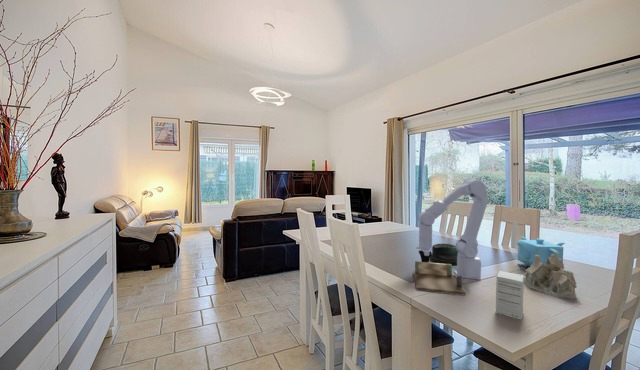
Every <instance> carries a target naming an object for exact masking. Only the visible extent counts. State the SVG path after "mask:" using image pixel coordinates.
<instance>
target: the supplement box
mask: <svg viewBox="0 0 640 370" xmlns="http://www.w3.org/2000/svg"><path fill="white" fill-rule="evenodd" d="M524 278H525V275H522V274H519V273H514V272H513V273H512V272H508V271H503V270H499V271H498V273H497V275H496V287H495V288H496V289H495V313H496V312H497V313H496V314H498V313H500V314H499V315H502V314H504V315H503V316H505V315H508V316H507V317H509V316H512V317H511V318H513V317H515V318H514V319H517V318H519V319H518V320H522V319H523V314H524V313H523V312H524V293H525V292H524V290H525V289H524V286H525V284H524Z"/></svg>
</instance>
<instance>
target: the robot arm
mask: <svg viewBox="0 0 640 370" xmlns="http://www.w3.org/2000/svg"><path fill="white" fill-rule="evenodd" d="M487 188H488V186H486V184H485V183H484V182H483V181H482V180H480V179H466V180H464V181H463V182H461V183H460V184H459V185H458V186H457V187H456V188H455V189H453V190H452V191H451V192H450V193H449V194H447V195H446V196H445V197H444V198H443V199H442V200H437V201H433V202H432V205H429V207H427V208H425V209H424V211H421V212H420V213H419V215H418V216H417V220H418V222H419V225H418V226H419V227H418V245H417V246H415V248H416V249H418V254H419V256H420V260H421V261H420V262H429V260H430V257H431V256H432V246H433V224H434V223H435V221H436V220H437V218H439V217H440V216H441V215H443V214H444V213H446V211H447V209H448V206H449V205H451V204H452V203H454V202H455V201H457V200H458V199H459V198H461V197H462V196H469V197H470V198H471V200H472V201H473V202H472V203H473V204H472V205H471V206H472V207H471V209H470V214H469V216H468V219H467V222H466V226H465V229H464V231H463V234H461V235H460V237H459V239H458V240H457V242H456V243H455V246H456V250H457V251H458V254H457V266H456V270H454V274H455V275H456V277H457V276H462V279H470V280H471V279H473V280H482V278H481V276H482V275H481V274H482V262H481V259H480V257H476V256H477V255H478V253H479V252H478V251H479V250H478V246H479V242H478V239H477V238H478V234H479V231H480V228H481V224H482V221H483V219H484V215H485V212H486V209H487V206H488V204H489V203H488V202H489V198H488V194H487Z"/></svg>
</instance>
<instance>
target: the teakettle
mask: <svg viewBox="0 0 640 370" xmlns="http://www.w3.org/2000/svg"><path fill="white" fill-rule="evenodd" d="M520 238H521V239H518V240H517V241H514V243H515V244H517V261H519V262H521V263H523V264H522V266H523V265H524V267H527V266H531V265H532V264H533V263H534V259H535V255H539V256H540V259H541V263H543V264H544V266H546V262H547V259H548V257H551V255H552V254H554V252H557V255H558V258H559V259H562V261H563V262H564V246H563V245H565V244H566V242H558V243H557V244H556V243H555V244H554V243H551V242H548V241H545V239H543V238H535V239H527V238H526V237H524V236H520Z"/></svg>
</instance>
